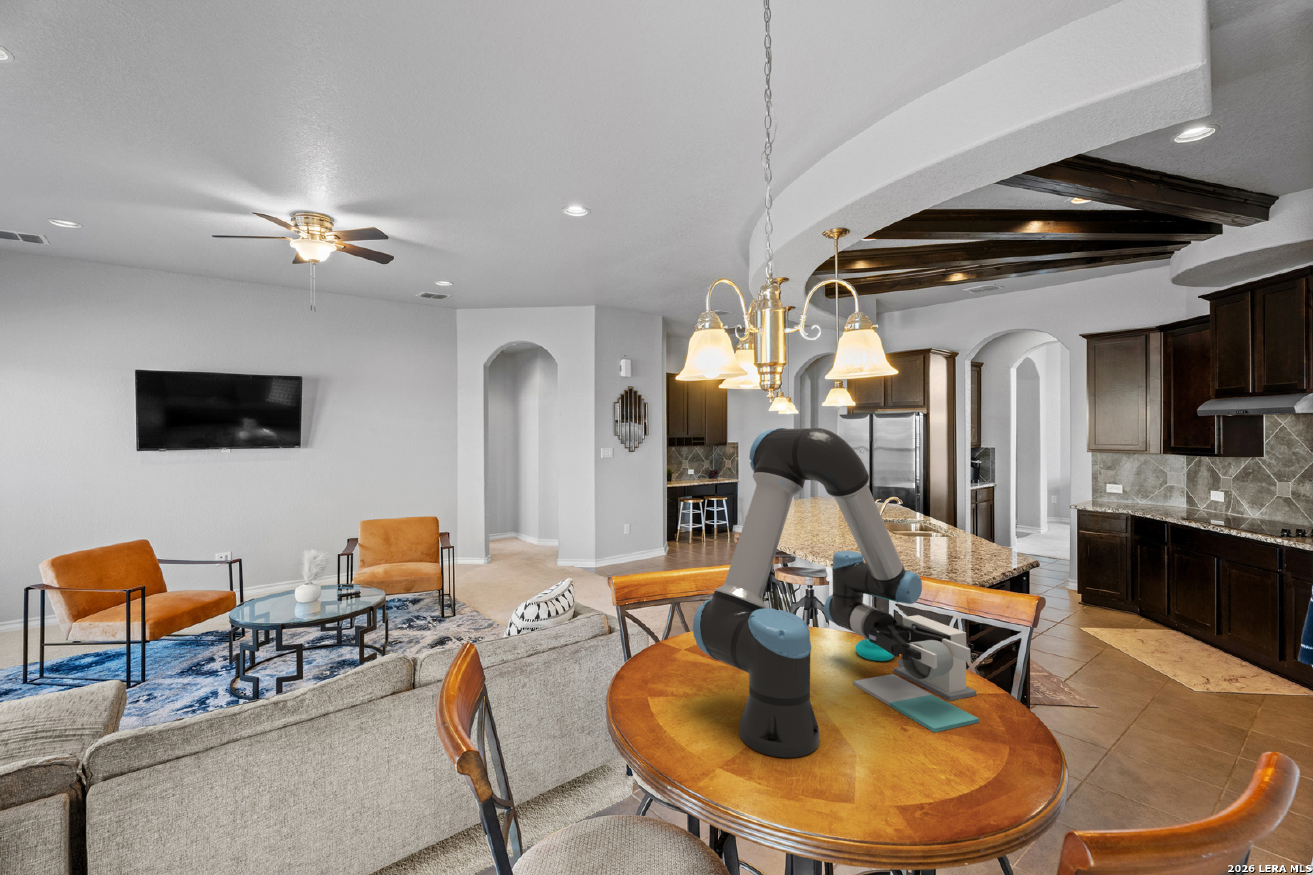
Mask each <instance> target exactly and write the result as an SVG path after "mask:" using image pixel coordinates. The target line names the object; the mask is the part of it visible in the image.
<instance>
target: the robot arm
mask: <svg viewBox="0 0 1313 875" xmlns="http://www.w3.org/2000/svg"><path fill="white" fill-rule="evenodd" d="M852 447H853V446H851V445H849V443H848V442H847V441H846V440H845V439H844V438H842V437H841V436H839V435H838V434H837V433H835V432H833V431H831V430H828V429H825V428H822V427H811V428H786V427H785V428H784V427H779V428H774V429H767V430H765V431H763V432H761V433H759V434H758V435H757V437H755V439H754V441H753V442H752V445H751V448H750V451H749V460H750V463H749V464H750V467H751V470H752V471H753V473H752V478H753V481H754V482H755V484H756V486H755V489H754V492H753V495H752V498H751V501H750V504H749V508H748V511H747V514H746V516H745V519H744V523H743V525H742V529H741V532H740V535H739V537H738V541H737V543H736V547H735V549H734V553H733V556H732V559H731V562H730V566H729V569H728V572H727V575H726V577H725V581H724V583H723V584H722V585H721V586H719V587H717V588H715V590H714V592H713V594H712V597H711V598H710V599H707V600H705V601H703V602H702V604H700V605H699V606H698V607H697V610H696V611H695V614H694V617H693V621H692V633H693V637H694V639H695V644H696V645H697V647H698V648H699V649H700V650H701V652H703V653H704V654H706V655H708V656H710V657H711V658H712V659H714V660H716V661H720V662H722V663H725V664H726V665H729V666H732V667H734V668H736V669H738V670H741V671H743V672H745V673H747V674H748V695H747V699H746V702H745V706H744V708H743V711H742V715H741V718H740V721H739V736H740V739H741V740H742V742H743V743H744V744H745V745H746V746H747V747H749V748H750V749H752V750H754V751H757V753H760V754H764V755H767V756H771V757H776V758H798V757H804V756H807V755H810V754H812V753H813V752H814V751H816V750H817V749H818V747H819V745H820V728H819V725H818V722H817V718H816V716H815V712H814V710H813V705H812V703H811V702H812V701H811V651H812V643H811V634H810V632H811V631H810V629H809V628H810V627H809V626H808V624H807V623H806V622H805V620H804V619H803V618H801V617H800V616H798V615H796V614H795V613H791V612H789V611H787V610H783V609H779V610H777V609H776V608H767V607H766V605H765V603H764V601H763V600H764V599H763V595H764V593H765V589H766V586H767V583H768V579H769V577H770V572H771V569H772V566H773V563H774V560H775V556H776V553H777V549H778V547H779V543H780V541H781V537H782V534H783V531H784V527H785V523H786V521H787V517H788V514H789V511H790V508H791V504H792V501H793V499H794V498H793V497H795V496H796V495H799V494H801V493H802V492H803V489H804V486H805V482H806V481H816V482H819V483H820V484H822V486H823V487H824V489H825V491H826V493H827V494H828V495H829V496H831V497H833V498H834V499H835V501H836V503H837V505H838V507H839V510H840V511H841V513H842V514H841V515H843V518H844V519H845V520H844V521H845V522H846V525H847V527H848V529H849V530H850V532H851V533H850V534H851V535H852V537H853V539H854V540H855V542H856V545H857V548H858V549H859V551H860V552H859V551H853V550H851V551H850V550H841V551H836V552H835V553H834V554H833V555H832V567H831V570H832V572H831V573H832V594H830V595H829V596H828V597H827V598H826V600H825V603H824V604H823V611H824V615H825V617H826V618H827V619H828V620H829V621H831V622H832V623H834V624H835V625H837V626H838V627H841V628H843V629H846V630H848V631H850V632H852V633H855V634H857V635H859V636H862V637H863V638H864V639H869V642H871V643H874V644H876V645H878V646H880V647H881V648H883V649H884V650H886V651H887V652H889V653H890V654H892V655H893V656H894V658H895V657H897V658H898V657H900V656H901V655H902V659H903V660H908V656H909V657H911V658H913V659H915V660H917V661H919V662H921V663H923V664H926V665H928V666H930V667H932V668H934V669H935V668H937V654H934V653H932V652H930V651H927V650H925V649H923V648H921V647H918V646H916V645H914V644H910V647H908V644H907V643H911V642H919V641H926V640H936V641H940V642H942V643H943V644H945V645H946V646H947V647H948V648H949V650H950V651H951V653H952V656H954V657H956V658H959V659H961V660H963V661H966V663H970V662H971V648H970V647H967V646H966V647H965V646H962V645H960V644H957V643H955V642H952V641H951V636H949V635H947V634H943V633H939V632H936V631H933V630H930V629H926V628H923V627H920V626H918V625H916V624H912V627H907V626H904V625H903V623H898V622H897V620H896V618H895V617H894V615H892V614H891V613H888V612H886V611H884V610H880V609H878V608H876V607H873V606H871V605H867V604H865V603H864V594H865V595H869V596H872V597H876V598H881V599H884V600H887V601H893V602H896V603H903V604H908V605H913V604H915V603H916V602H917V601H919V598H920V597H921V595H922V591H923V582H922V579H921V577H920V575H919V574H918V573H917V572H913V571H911V570H906V569H905V567H904V565H903V563H902V561H901V558H900V556H899V553H898V551H897V549H896V547H895V544H894V542H893V540H892V537H891V535H890V533H889V531H888V529H887V526H886V524H885V521H884V519H883V517H882V515H881V513H880V510H879V508H878V506H877V504H876V501H875V498H874V497H873V495H872V492H871V490H870V489H871V488H870V487H869V485H868V483H869V481H870V476H869V473H868V471H867V468H866V466H865V465H864V463H863V461H862V458H860V456H859V455H858V454H857V452H856V451H855V450H854V449H853V448H852ZM909 638H910V640H909Z"/></svg>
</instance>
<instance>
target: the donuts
mask: <svg viewBox="0 0 1313 875" xmlns="http://www.w3.org/2000/svg"><path fill="white" fill-rule="evenodd" d="M855 651H856V653H857V654H858V655H859V656H860V657H861V658H863V659H866V660H870V661H875V662H886V661H887V662H888V661H890V660H893V659H894V658H895V656H893V655H892V654H890V653H889V652H887V651H886V650H884V649H883V648H881V647H880V646H878V645H876V644H874V643H871V642H869V639H865V638H864V639H861V640H859V641H858V642H857V643H856V644H855Z"/></svg>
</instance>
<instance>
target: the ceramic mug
mask: <svg viewBox="0 0 1313 875" xmlns="http://www.w3.org/2000/svg"><path fill="white" fill-rule="evenodd" d="M910 644H914V645H916V646H918V647H921V648H923V649H925V650H927V651H930V652H932V653H934V654H937V668H935V669H934V668H932V667H930V666H928V665H926V664H923V663H921V662H919V661H917V660H915V659H913V658H911V657H909V656H908V660H903V659H902V655H901V654H900V656H901V657H900V659H897V661H896V662H897V664H898V667H904V669H905V671H906V672H907V673H908V674H909V675H910V676H911V677H912V678H914V679H916V680H919V681H925V680H928V679H932V678H935V677H938V676H941V675H944V674H946V673H948V672H949V671H950V670H951V668H952V666H953V656H952V653H951V651H950V650H949V648H948V647H947V646H946V645H945V644H943V643H942V642H940V641H936V640H926V641H919V642H911V643H908V647H910Z"/></svg>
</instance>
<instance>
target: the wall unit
mask: <svg viewBox="0 0 1313 875" xmlns="http://www.w3.org/2000/svg"><path fill="white" fill-rule="evenodd" d="M902 624H903V625H904V626H907V627H912V624H916V625H918V626H920V627H923V628H926V629H930V630H933V631H936V632H939V633H943V634H947V635H949V636H951V641H952V642H955V643H957V644H960V645H962V646H965V647H967V632H965V631H963V630H960V629H957V628H954V627H952V626H949V625H947V624H943V623H941V622H938V621H937V620H934V619H930V618H928V617H925V616H922V615H920V614H915V615H911V616H910V615H909V616H903V617H902ZM909 640H910V638H909ZM907 644H908V643H907ZM893 673H894V674H895V675H897V676H900V677H902V678H904V679H906V680H908V681H911V682H912V683H915V685H918V686H920V687H923V688H924V689H926V690H927V691H930V692H931V693H932V694H933V693H934V694H936V695H938V696H939V697H941V698H942V699H945V700H946V701H950V702H953V701H956V700H962V699H966V698H971V697H975V696H977V690H975V689H972V688H970V687H969V686H967V662H966V661H963V660H961V659H959V658H956V657H954V656H953V666H952V668H951V670H950V671H949V672H948V673H946V674H944V675H941V676H938V677H935V678H932V679H928V680H925V681H919V680H916V679H914V678H912V677H911V676H910V675H909V674H908V673H907V672H906V671H905V669H904V667H899V666H897V667H893Z"/></svg>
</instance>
